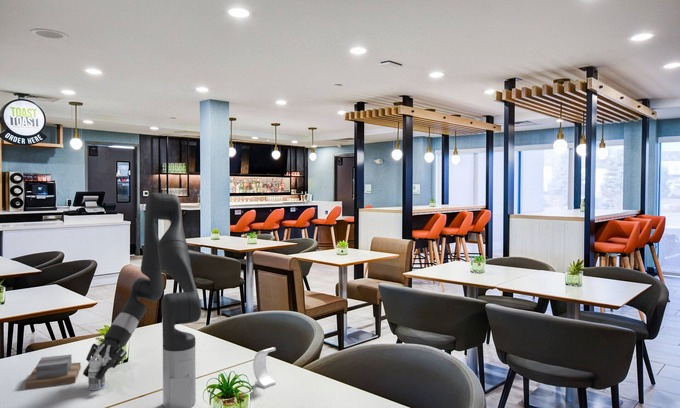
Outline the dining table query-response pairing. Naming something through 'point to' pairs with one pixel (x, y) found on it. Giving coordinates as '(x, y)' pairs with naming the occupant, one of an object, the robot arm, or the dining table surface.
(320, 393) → the dining table surface
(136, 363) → the dining table surface
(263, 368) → the headphone stand
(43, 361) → the pedestal
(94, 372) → the pill bottle
